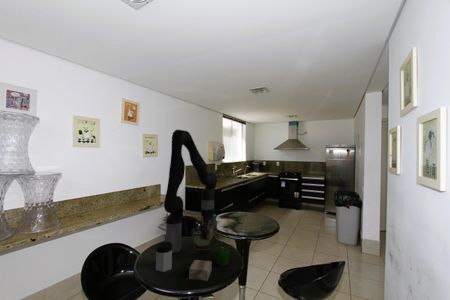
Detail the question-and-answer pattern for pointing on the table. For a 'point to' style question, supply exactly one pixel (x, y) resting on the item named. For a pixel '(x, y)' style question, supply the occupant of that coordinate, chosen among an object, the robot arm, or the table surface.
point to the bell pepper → (222, 256)
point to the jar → (163, 256)
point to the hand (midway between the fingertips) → (206, 236)
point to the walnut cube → (209, 233)
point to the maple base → (200, 270)
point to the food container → (200, 242)
